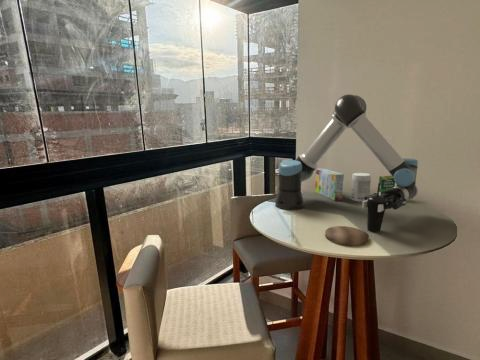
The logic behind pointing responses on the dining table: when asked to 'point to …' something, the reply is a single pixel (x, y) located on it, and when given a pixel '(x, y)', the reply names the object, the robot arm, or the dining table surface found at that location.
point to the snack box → (329, 184)
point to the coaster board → (346, 236)
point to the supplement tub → (360, 186)
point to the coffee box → (386, 183)
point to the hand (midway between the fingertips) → (370, 206)
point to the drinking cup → (375, 211)
